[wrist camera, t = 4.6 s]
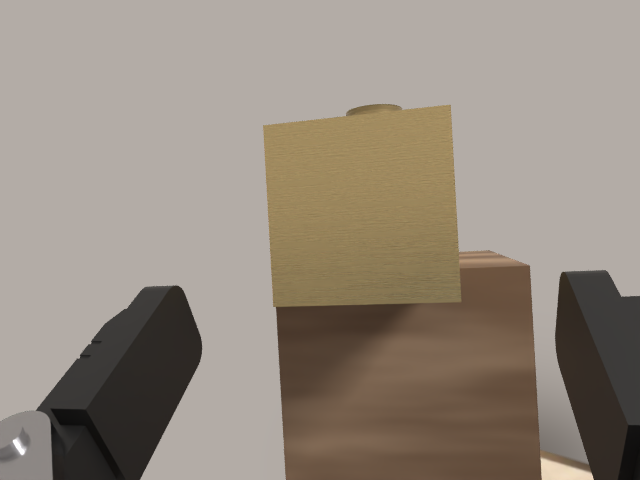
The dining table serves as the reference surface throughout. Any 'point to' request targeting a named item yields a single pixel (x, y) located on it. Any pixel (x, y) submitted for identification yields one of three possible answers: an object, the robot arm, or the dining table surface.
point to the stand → (415, 384)
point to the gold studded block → (363, 208)
